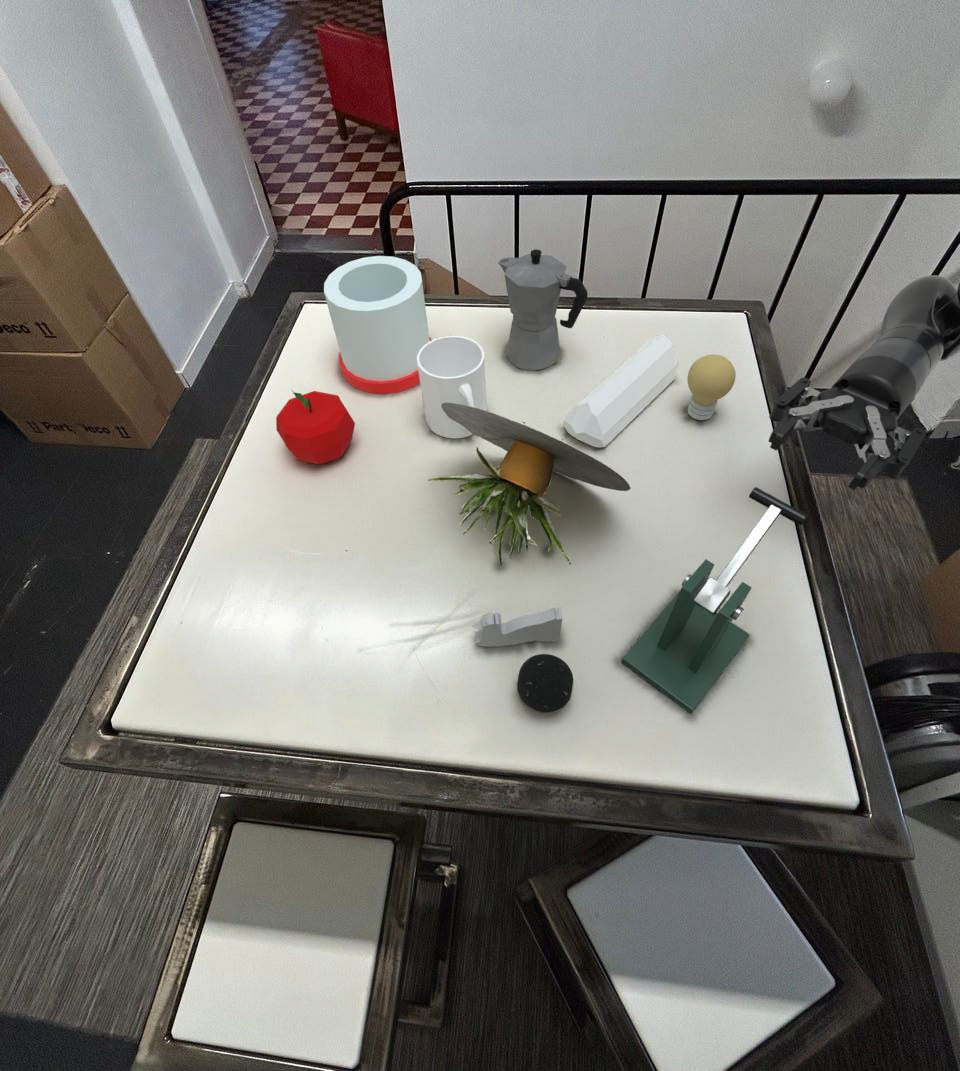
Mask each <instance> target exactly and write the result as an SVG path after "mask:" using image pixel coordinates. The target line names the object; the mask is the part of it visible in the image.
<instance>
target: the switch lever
mask: <svg viewBox="0 0 960 1071" xmlns="http://www.w3.org/2000/svg"><path fill="white" fill-rule="evenodd" d="M748 498H749V499H751V500H753V501H754V502H757V503H758V504H760V505H762V506H764V507H765V508H767V509H766V511H764V514H763V515H762V516H761V517H760V519H759V520H758V522H757V523H756V524H755V526H754V527H753V529H752V530H751V531H750V533H749V534H748V535H747V537H746V538H745V540H744V541H743V542H742V543H741V545H740V546H739V548H738V549H737V551H736V552H735V554H734V555H733V556H732V558H731V559H730V560H729V562H728V563H727V564H726V566H725V567H724V569H723V570H722V571H721V573H720V574H719V575H718V577H717V578H716V579H714V578H713V577H711V576H709V577H708V580H707V582H706V583H705V585H704V586H703V587H702V589H701V590H700V592H699V593H698V594H697V596H696V597H695V598H694V603H695V604H696V605H697V606H699V607H700V608H702V609H703V610H705V611H706V612H708V613H709V614H711V615H712V616H714V615H715V614H716V613H718V612H719V611H720V609H721V608H722V607H723V605H724V604H725V601H727V600H728V597H729V596H730V595H731V589H730V588H729V585H730V584H731V582H732V581H733V580H734V578H735V576H737V574H738V572H739V571H740V570H741V568H742V567H743V566H744V564H745V563H746V561H748V559H749V557H750V556H751V555H752V553H753V552H754V550H755V549H756V548H757V546H758V545H759V544H760V542H761V541H762V540H763V538H764V537H765V536H766V534H767V532H768V531H769V530H770V528H771V527H772V526H773V524H774V523H775V521H776V520H777V519H778V518H779V516H782V517H784V518H786V519H788V520H789V521H791V522H793V523H795V524H797V525H798V526H802V525H803V524H804V523H805V522H806V520H807V519H808V517H809V515H808V514H807V513H805V512H803V511H802V510H800V509H798V508H796V507H794V506H792V505H790V504H789V503H786V502H785V501H783V500H781V499H779V498H777V497H775V496H773V495H772V494H770V493H768V492H766V491H764V490H763V489H760V488H759V487H756V486H755V487H753V488H752V490H751V491H750V493H749V495H748Z"/></svg>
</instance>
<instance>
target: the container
mask: <svg viewBox="0 0 960 1071" xmlns="http://www.w3.org/2000/svg"><path fill="white" fill-rule="evenodd" d="M323 294H324V298H325V301H326V305H327V309H328V312H329V316H330V318H331V319H330V320H331V323H332V324H331V325H332V327H333V331H334V334H335V338H336V342H337V345H338V349H339V353H338V363H339V367H340V371H341V374H342V375H343V377H344V379H345V381H346V382H347V383H348V384H349V385H351V386H352V387H353V388H354V389H356V390H360V391H362V392H365V393H368V394H377V395H387V394H394V393H395V394H396V393H400V392H404V391H406V390H409V389H413V388H415V387H416V386H418V385H420V379H419V372H418V366H417V355H418V353H419V350H420V349H421V348H422V347H423V346H424V345H425V344H427V343H428V342H430V341H432V340H433V339H432V338H431V337H430V332H429V325H428V317H427V309H426V302H425V293H424V287H423V279H422V272H421V271H420V269H419V268H418V267H417V265H415V264H414V263H412V262H410V261H408V260H407V259H403V258H400V257H396V256H391V255H390V256H388V255H375V256H366V257H362V258H358V259H355V260H350V261H348V262H346V263H344V264H343V265H340V266H338V267H337V268H335V269H334V270H333V271H332V272H331V273H330V274H328V276H327V278H326V280H325V281H324V282H323Z"/></svg>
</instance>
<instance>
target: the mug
mask: <svg viewBox="0 0 960 1071" xmlns="http://www.w3.org/2000/svg"><path fill="white" fill-rule="evenodd" d="M431 340H432V341H430V342H428V343H427V344H425V345H424V346H423V347H422V348H421V349H420V350H419V353H418V355H417V366H418V372H419V379H420V383H419V385H420V392H421V398H422V404H423V412H424V417H425V420H426V423H427V427H428V428H430V430H431V431H432V432H433V433H435V435H438V436H441V437H442V438H447V439H463V438H467V437H469V436H471V435H473V434H472V433H471V432H469V431H468V430H467V429H466V428H465V427H463V426H462V425H460V424H459V423H457V422H455V421H453V420H452V419H450V418H449V417H448V416H447V415H446V413H445V412H444V411H443V409H442V407H441V405H442V404H443V403H455V404H461V405H465V406H469V407H473V408H478V409H481V410H484V411H488V408H487V407H488V406H487V386H486V385H487V383H486V361H485V360H486V359H485V350H484V349H483V347H482V345H481V344H479V342H478V341H476V340H474V339H472V338H470V337H466V336H463V335H446V336H440V337H437V338H435V339H431Z"/></svg>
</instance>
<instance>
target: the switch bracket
mask: <svg viewBox="0 0 960 1071" xmlns="http://www.w3.org/2000/svg"><path fill="white" fill-rule="evenodd" d="M714 567H715V563H713V562H711V561H710V560H709V559H706V558H705V559H704V560H703V562H702V563H701V564H700V565H699V566H698V567H697V569H696V570H694V572H693V573H692V574H690V573H689V574H687V575H686V577H684V579H683V581H682V582H681V588H680V590H679V591H678V593H677V594H676V595H675V596H674V597H673V598H672V600H671V601H669V603H668V605H666V607H665V608H664V609H663V610H662V611H661V612H660V613H659V615H658V616H657V617H656V618H655V619H654V620H653V622H652V623H651V624H650V626H648V628H646V630H645V631H644V632H643V633H642V635H641V636H640V637H639V638H638V639H637V640H636V641H635V643H634V644H633V645H632V646H631V647H630V649H629V650H628V651H627V652H626V654H624V655H623V657H622V659H621V664H623V665H624V666H625V667H626V668H628V669H629V670H631V671H632V672H633V673H635V674H636V675H637V676H639V677H640V678H641V679H642V680H644V681H646V682H647V683H648V684H649V685H651V687H653V688H655V689H656V690H657V691H659V692H660V693H661V694H663V695H664V696H665V697H667V698H668V699H669V700H671V701H672V702H673V703H674V704H676V705H678V706H679V707H680V708H681V709H683V710H684V711H685V712H687V714H690V715H692V713H694V711H695V710H696V708H697V707H698V705H699V704H700V703H701V701H702V700H704V698H705V696H707V693H709V691H710V689H711V688H712V687H713V686H714V685H715V683H716V682H717V680H718V679H719V678H720V677H721V675H722V673H723V672H724V671H725V669H726V668H727V667H728V666H729V664H730V663H731V662H732V660H733V659H734V657H735V656H736V655H737V654H738V652H739V651H740V650H741V648H742V647H743V645H745V643H746V641H747V640H748V638H749V637H750V633H748V632H747V631H745V630H744V629H742V628H741V627H740V626H737V625H736V624H735V623H733V620H734V621H737V620H738V618H739V617H740V616H741V615H742V613H743V611H744V608H743V607H742V606H743V604H744V602H745V600H746V599H747V597H748V595H749V594H750V592H751V590H752V588H753V587H752V586H750V585H749V584H747V583H746V582H744V581H741V583H740V584H739V586H738V587H737V588H736V589H735V591H734V592H733V593H732V594H731V596H730V597H729V598H727V600H726V602H724V603H723V605H722V606H721V607H720V608H719V610H718V611H717V612H716V614H715V615H714V616H712V615H711V614H709V613H708V612H706V611H705V610H703V609H702V608H700V607H699V606H697V605H696V604H695V603H694V598H695V597H696V596H697V594H698V593H699V592H700V590H701V589H702V587H703V586H704V585H705V583H706V582H707V581H708V579H709V578H710V575H711V574H712V572H713V569H714Z"/></svg>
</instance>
